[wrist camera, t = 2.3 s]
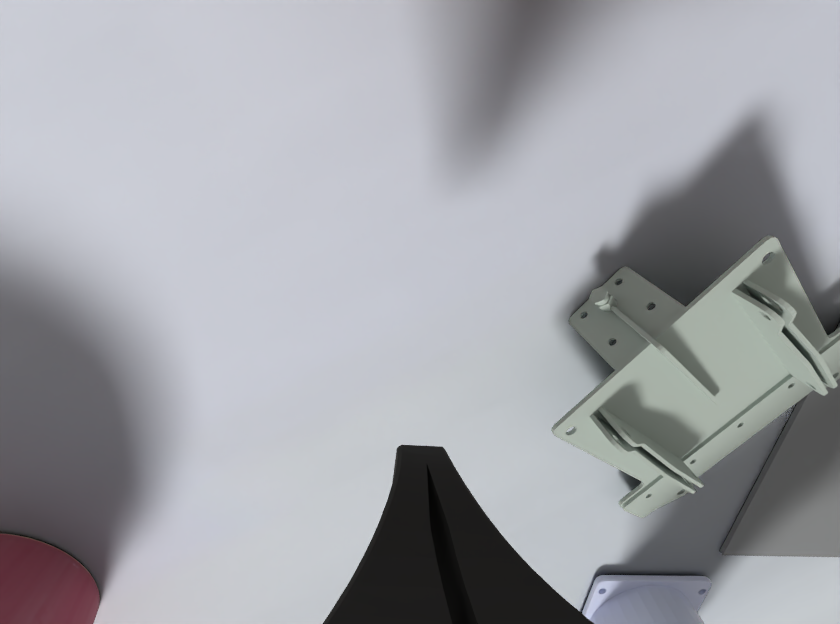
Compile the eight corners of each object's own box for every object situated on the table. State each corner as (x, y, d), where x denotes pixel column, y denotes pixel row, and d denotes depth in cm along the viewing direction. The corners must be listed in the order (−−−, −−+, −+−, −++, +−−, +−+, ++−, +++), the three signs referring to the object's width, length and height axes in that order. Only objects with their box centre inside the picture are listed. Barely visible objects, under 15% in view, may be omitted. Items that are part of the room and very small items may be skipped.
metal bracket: (525, 494, 17) (879, 190, 13) (471, 392, 22) (719, 146, 18) (673, 549, 25) (923, 369, 21) (609, 465, 29) (804, 305, 25)
